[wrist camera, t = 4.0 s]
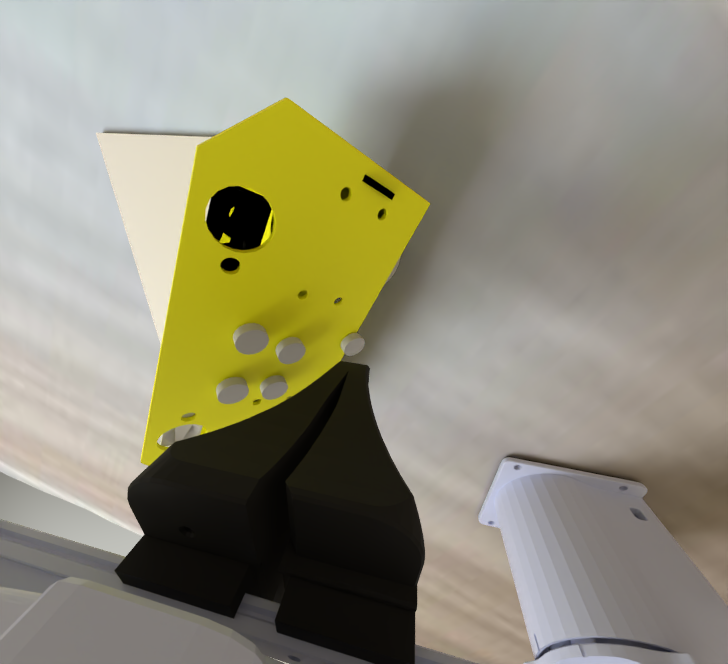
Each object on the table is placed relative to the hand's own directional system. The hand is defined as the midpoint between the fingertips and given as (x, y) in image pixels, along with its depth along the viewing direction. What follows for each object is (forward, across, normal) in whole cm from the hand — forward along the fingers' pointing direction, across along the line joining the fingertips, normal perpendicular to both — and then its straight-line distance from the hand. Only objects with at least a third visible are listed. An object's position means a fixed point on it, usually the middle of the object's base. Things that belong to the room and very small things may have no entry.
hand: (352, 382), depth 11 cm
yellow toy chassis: (+4, +2, 0) cm, 5 cm away
